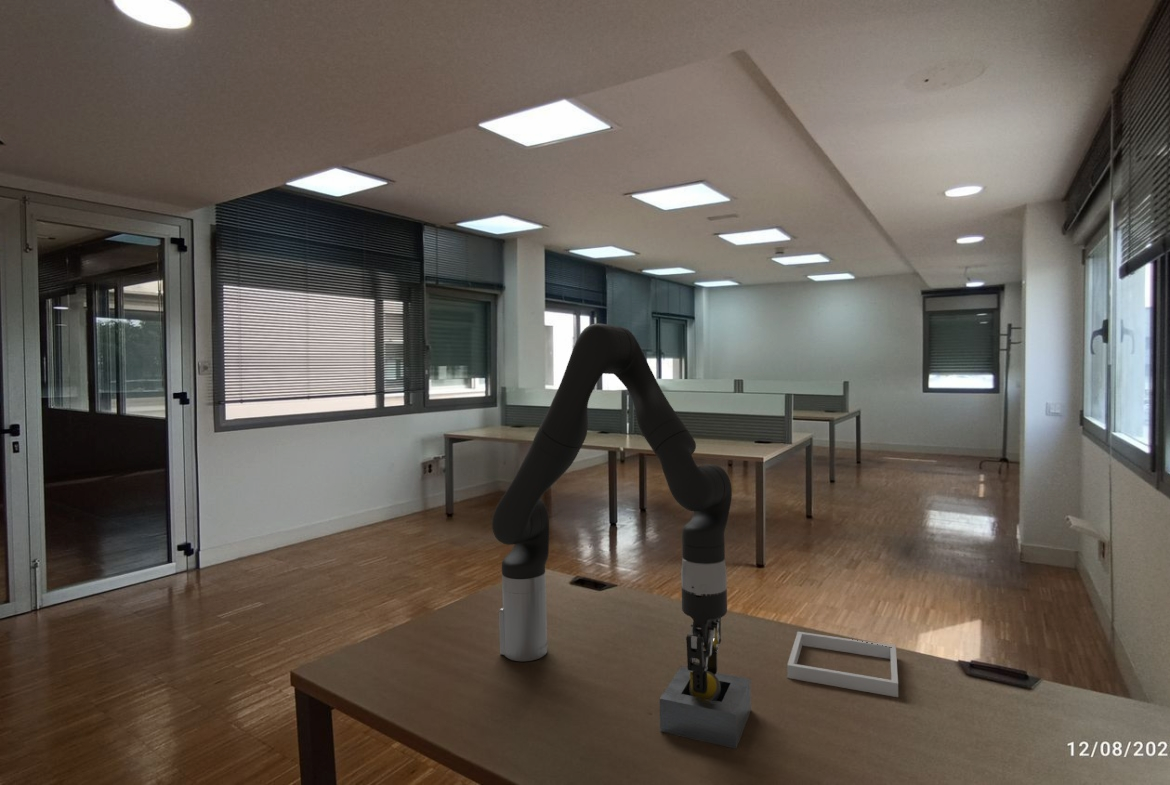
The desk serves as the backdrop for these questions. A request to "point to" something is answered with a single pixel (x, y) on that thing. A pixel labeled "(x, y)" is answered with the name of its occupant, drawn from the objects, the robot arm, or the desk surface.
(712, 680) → the drill bit
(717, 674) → the bit holder
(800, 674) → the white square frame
